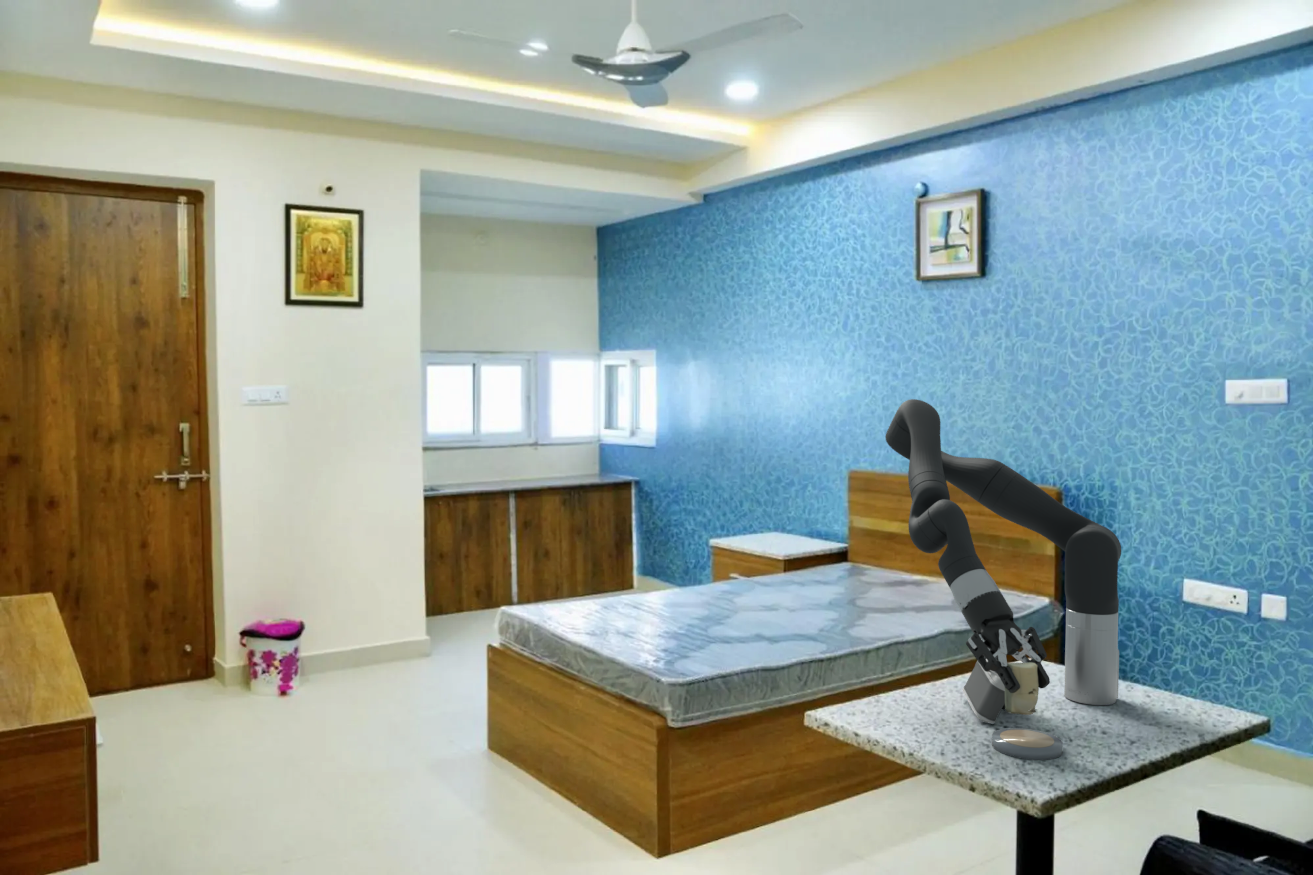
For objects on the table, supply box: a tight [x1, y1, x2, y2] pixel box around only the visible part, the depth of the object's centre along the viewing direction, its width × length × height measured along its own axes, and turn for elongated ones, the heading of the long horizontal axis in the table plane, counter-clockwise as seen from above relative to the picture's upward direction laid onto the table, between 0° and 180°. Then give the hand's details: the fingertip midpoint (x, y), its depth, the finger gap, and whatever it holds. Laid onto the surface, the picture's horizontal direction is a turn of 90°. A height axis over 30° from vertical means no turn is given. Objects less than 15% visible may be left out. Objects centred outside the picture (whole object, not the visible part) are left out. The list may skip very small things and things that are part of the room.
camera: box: [962, 656, 1006, 725], centre depth 183 cm, size 9×16×10 cm, turn 174°
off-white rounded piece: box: [1005, 662, 1040, 716], centre depth 164 cm, size 6×5×8 cm
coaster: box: [991, 727, 1064, 761], centre depth 164 cm, size 11×11×2 cm
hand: (1030, 687), depth 163 cm, fingers closed on off-white rounded piece, 6 cm apart
